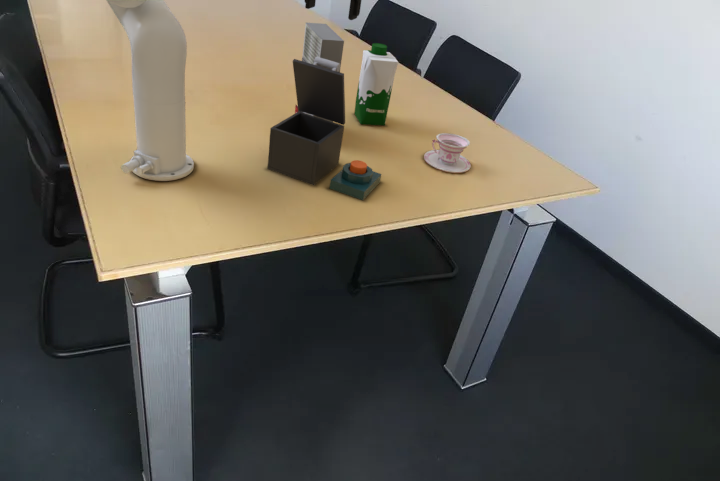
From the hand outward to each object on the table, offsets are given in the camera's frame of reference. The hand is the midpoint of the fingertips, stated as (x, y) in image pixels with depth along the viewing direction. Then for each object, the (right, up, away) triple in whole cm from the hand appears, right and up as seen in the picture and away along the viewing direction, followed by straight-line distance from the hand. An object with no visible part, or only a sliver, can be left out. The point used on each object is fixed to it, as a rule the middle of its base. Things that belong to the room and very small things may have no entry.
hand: (331, 13), depth 115 cm
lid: (-3, -15, +7) cm, 16 cm away
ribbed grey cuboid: (-7, -18, +30) cm, 36 cm away
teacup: (+28, -27, +27) cm, 47 cm away
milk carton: (+8, -13, +43) cm, 45 cm away
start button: (+5, -31, +8) cm, 33 cm away
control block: (+5, -34, +10) cm, 36 cm away
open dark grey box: (-7, -30, +13) cm, 33 cm away
